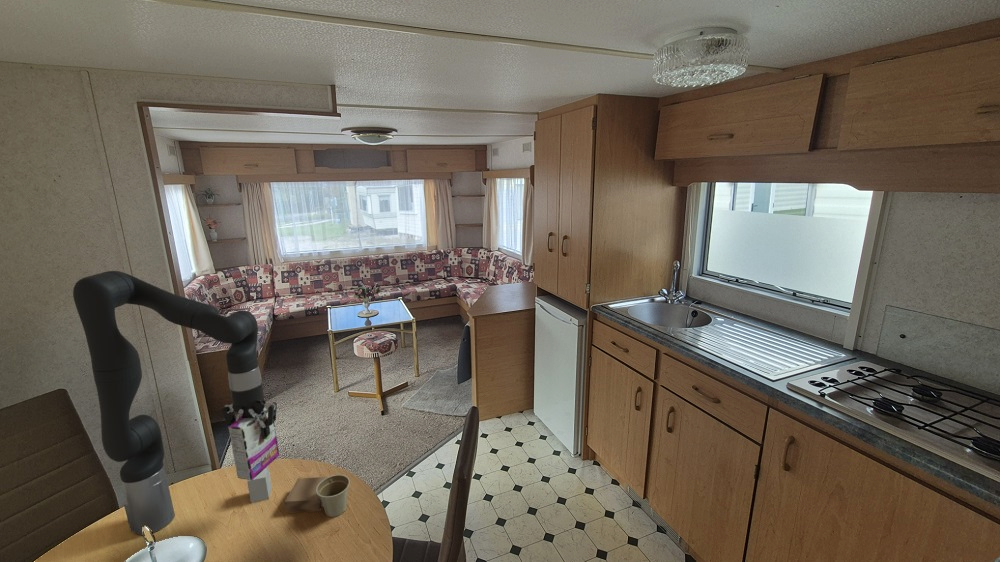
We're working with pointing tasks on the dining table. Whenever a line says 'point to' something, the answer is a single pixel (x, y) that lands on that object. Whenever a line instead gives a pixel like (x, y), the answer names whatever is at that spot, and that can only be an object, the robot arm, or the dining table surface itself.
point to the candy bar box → (252, 447)
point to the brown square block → (304, 496)
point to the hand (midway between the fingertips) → (254, 437)
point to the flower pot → (334, 494)
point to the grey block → (260, 486)
